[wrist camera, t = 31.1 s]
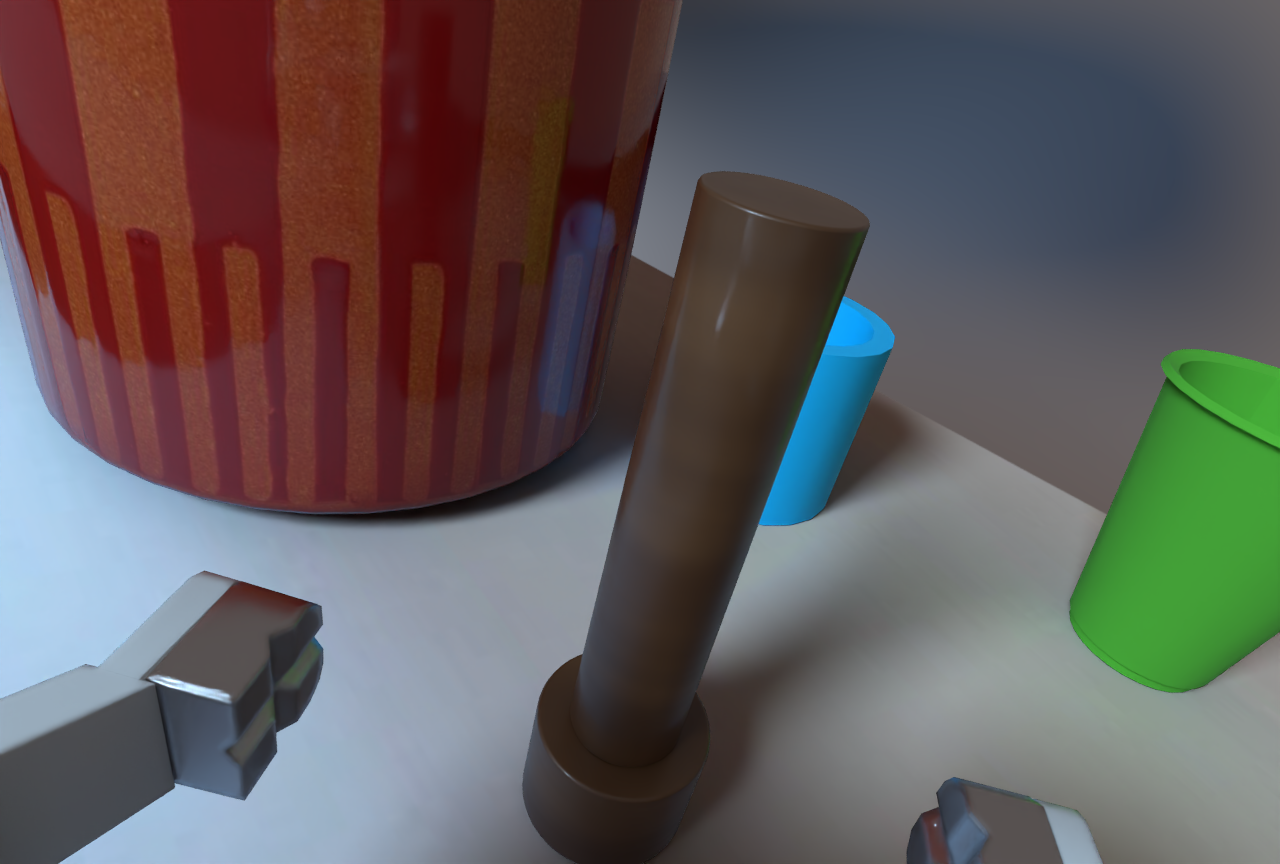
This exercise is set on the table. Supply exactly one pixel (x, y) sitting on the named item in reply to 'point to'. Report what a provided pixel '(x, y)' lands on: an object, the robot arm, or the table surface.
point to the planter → (325, 234)
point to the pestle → (688, 512)
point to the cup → (1191, 530)
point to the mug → (830, 414)
